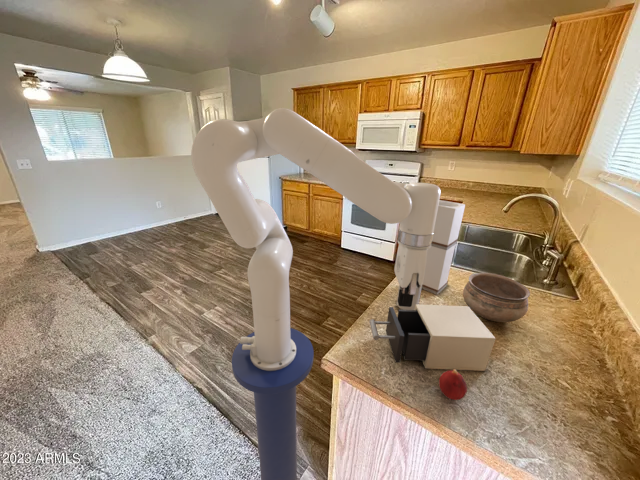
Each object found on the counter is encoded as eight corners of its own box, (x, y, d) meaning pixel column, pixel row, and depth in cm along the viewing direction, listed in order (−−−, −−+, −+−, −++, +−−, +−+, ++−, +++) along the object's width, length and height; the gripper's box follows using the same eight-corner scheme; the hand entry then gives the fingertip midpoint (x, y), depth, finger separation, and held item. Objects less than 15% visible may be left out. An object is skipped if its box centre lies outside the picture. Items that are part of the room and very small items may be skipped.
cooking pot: (514, 347, 78) (527, 313, 74) (448, 318, 90) (456, 287, 86) (526, 311, 96) (537, 282, 91) (470, 291, 108) (477, 264, 103)
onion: (466, 397, 63) (474, 371, 60) (457, 413, 59) (465, 386, 56) (442, 381, 66) (448, 357, 64) (432, 395, 63) (438, 370, 60)
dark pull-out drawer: (372, 361, 71) (376, 334, 68) (366, 330, 82) (369, 306, 79) (450, 365, 70) (457, 338, 67) (432, 332, 82) (437, 308, 79)
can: (414, 315, 91) (420, 285, 87) (393, 308, 95) (397, 279, 91) (419, 305, 97) (425, 276, 93) (399, 299, 101) (403, 271, 97)
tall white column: (447, 285, 112) (465, 204, 99) (437, 294, 105) (455, 208, 92) (421, 275, 119) (435, 199, 107) (410, 284, 112) (423, 203, 100)
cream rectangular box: (425, 368, 70) (432, 335, 66) (410, 333, 83) (415, 304, 79) (485, 371, 70) (495, 338, 66) (460, 335, 83) (468, 306, 79)
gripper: (393, 227, 68) (385, 288, 75) (404, 249, 54) (394, 322, 61) (422, 228, 68) (412, 290, 74) (442, 251, 54) (427, 324, 60)
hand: (404, 304), depth 68 cm, fingers closed
